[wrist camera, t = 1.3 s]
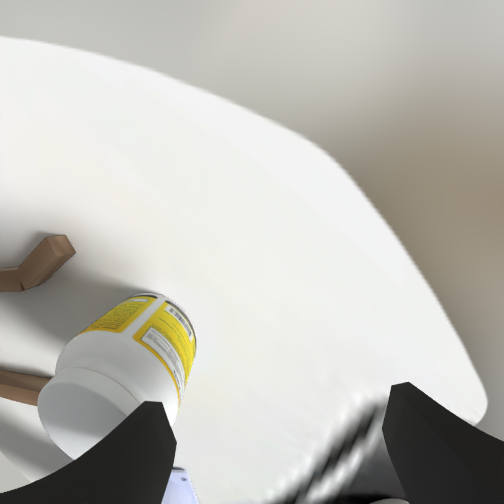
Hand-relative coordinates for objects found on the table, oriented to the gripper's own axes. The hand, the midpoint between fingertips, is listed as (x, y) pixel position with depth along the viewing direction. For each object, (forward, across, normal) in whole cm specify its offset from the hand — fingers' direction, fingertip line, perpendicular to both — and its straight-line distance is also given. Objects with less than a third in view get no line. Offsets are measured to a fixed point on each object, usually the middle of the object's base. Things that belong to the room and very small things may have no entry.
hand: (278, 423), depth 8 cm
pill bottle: (+11, +8, +2) cm, 14 cm away
